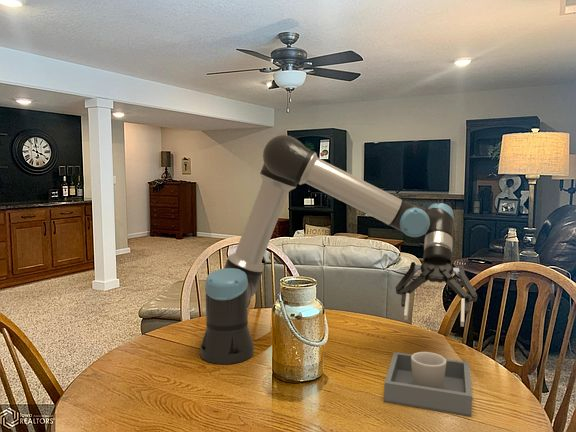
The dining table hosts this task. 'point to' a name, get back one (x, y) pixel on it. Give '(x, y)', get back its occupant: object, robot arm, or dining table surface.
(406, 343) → the dining table surface
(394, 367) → the tray
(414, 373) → the cup
